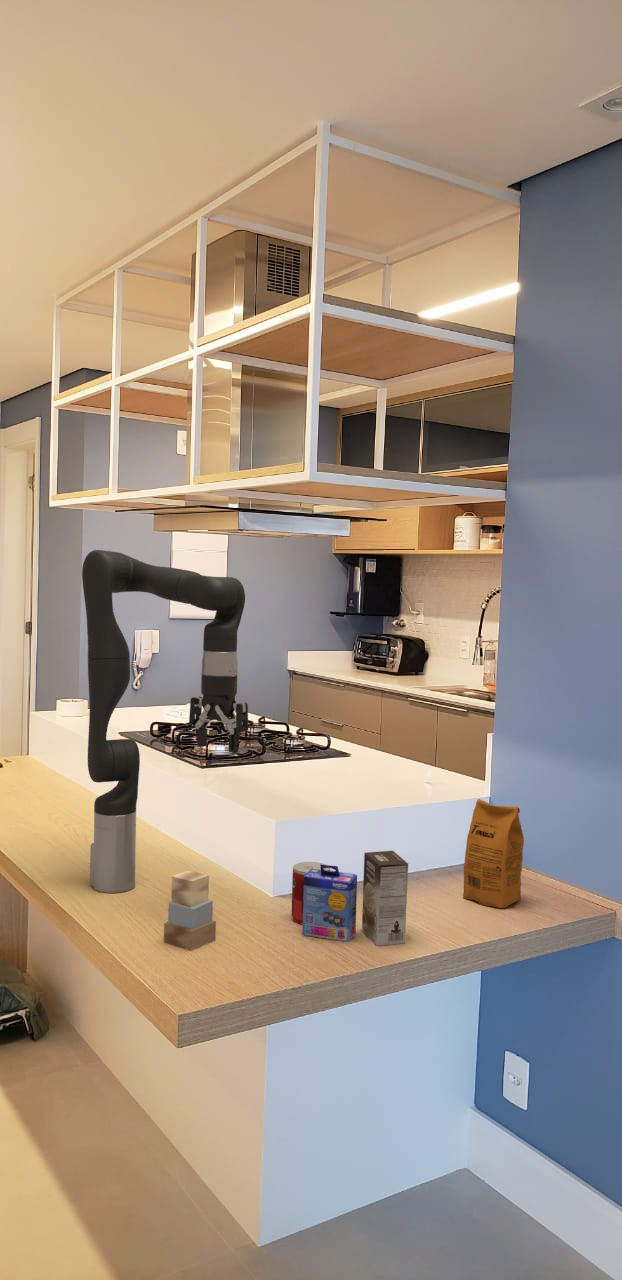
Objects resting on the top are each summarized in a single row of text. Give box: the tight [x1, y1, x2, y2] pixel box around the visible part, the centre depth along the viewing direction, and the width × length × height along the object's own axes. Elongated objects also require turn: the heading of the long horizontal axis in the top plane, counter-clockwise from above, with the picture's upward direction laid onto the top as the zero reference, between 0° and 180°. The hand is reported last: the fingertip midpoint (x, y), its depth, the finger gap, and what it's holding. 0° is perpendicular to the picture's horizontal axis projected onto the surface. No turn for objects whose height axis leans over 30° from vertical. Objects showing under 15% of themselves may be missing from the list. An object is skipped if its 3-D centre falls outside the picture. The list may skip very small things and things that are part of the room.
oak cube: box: [170, 870, 210, 907], centre depth 192 cm, size 5×5×5 cm
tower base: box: [163, 919, 217, 951], centre depth 192 cm, size 7×7×4 cm
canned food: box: [291, 861, 331, 925], centre depth 206 cm, size 8×8×11 cm
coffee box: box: [361, 850, 409, 946], centre depth 197 cm, size 9×6×16 cm
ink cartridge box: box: [301, 864, 358, 942], centre depth 197 cm, size 10×6×14 cm, turn 73°
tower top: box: [167, 899, 214, 930], centre depth 192 cm, size 6×6×4 cm
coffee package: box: [462, 798, 525, 909], centre depth 221 cm, size 10×12×22 cm
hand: (217, 749), depth 210 cm, fingers open, 8 cm apart
